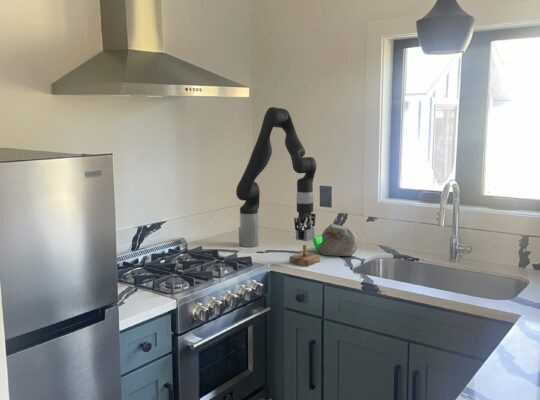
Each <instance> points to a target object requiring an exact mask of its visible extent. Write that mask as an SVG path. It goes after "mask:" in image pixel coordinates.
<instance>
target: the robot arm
mask: <svg viewBox="0 0 540 400" xmlns="http://www.w3.org/2000/svg"><path fill="white" fill-rule="evenodd" d="M273 128H280V129H282V130H283V131H284V133H285V138H284V146H285V148H286V150H287V152H288V153H289V156H290V159H291V164H292V169H293V171H294V172H295V173H297V174H304V176H303V177H300V178H299V179H297V181H296V212H297V213H298V215H297V217H294V218H293V220H294V230H295V231H296V230H297V231H298V237H299V239H301V240H300V241H302V239H303V230H304V227H310V228H315V226H316V213H313V212H314V193H313V191H314V190H313V189H314V187H313V186H314V184H313V182H314V180H315V179H314V178H315V174H316V171H317V161H316V159H315V158H314V157H312V156H306V157H305V155H306V150H305V147H304V145H303V144H302V141H301V140H300V138H299V136H298V134H297V131H296V128H295V126H294V122H293V120H292V117H291V114H290V112H289V111H288V110H287V109H285V108H282V107H281V108H280V107H276V106H275V107H274V106H271V107H269V108H267V110H266V112H265V114H264V116H263V120H262V124H261V128H260V131H259V134H258V136H257V140H256V142H255V145H254V147H253V150H252V152H251V155H250V157H249V159H248V163H247V165H246V168H245V170H244V172H243V175H242V177H241V178H240V180H239V182H238V184H237V187H236V188H235V189H236V191H235V193H236V198H238V200H240V201H244V203H243V204H242V205H241V206H240V208H239V227H238V244H239V246H240V247H244V248H254V247H259V213H258V212H259V211H258V210H259V208H260V195H261V194H260V193H261V192H260V186H259V184H258V183H257V182H256V181H255V180H256V179H257V178H258V176H259V175H260V174H261V173H262V172H263V171H264V170H265V168H267V165H268V164H269V162H270V160H271V157H272V153H273V148H272V143H271V134H272V131H273ZM301 227H302V228H301Z"/></svg>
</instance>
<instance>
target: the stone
mask: <svg viewBox="0 0 540 400" xmlns="http://www.w3.org/2000/svg"><path fill="white" fill-rule="evenodd" d="M321 237H322V242H321V243H320V244H318V247H319V250H320V252H319V253H321V254H322V255H324V256H339V257H351V256H352V255H354V254H355V253H356V252H357V250H358V248H359V239H358V236H357V235H356V233H355V231H354V230H353V229H351V228H350V227H347V226H343V225H340V224H335V223H330V225H329V226H328V227H326V228H325V229H324V230H323V232H322V234H321Z"/></svg>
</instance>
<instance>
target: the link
mask: <svg viewBox="0 0 540 400" xmlns="http://www.w3.org/2000/svg"><path fill="white" fill-rule="evenodd" d="M301 228H302V226H301ZM314 238H315V227H313V228H310V227H307V226H305V227H304V230H303V239H302V240H301V239H299V237H298V231H297V230H295V240H296V241H303V242H308V241H313V239H314Z"/></svg>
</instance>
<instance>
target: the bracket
mask: <svg viewBox="0 0 540 400" xmlns="http://www.w3.org/2000/svg"><path fill="white" fill-rule="evenodd" d="M312 242H313V246H314V248H315V250H316V251H317V252H319V253H321V252H320V250H319V247H318V244H320V243H321V242H322V236H317V237H314V239H312Z"/></svg>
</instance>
